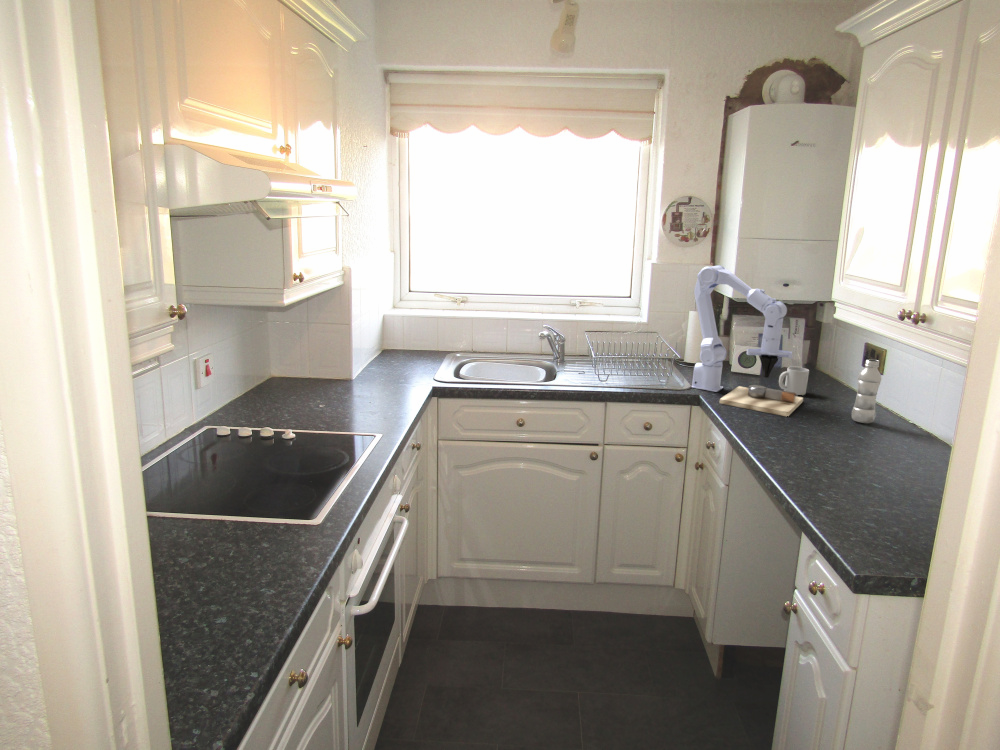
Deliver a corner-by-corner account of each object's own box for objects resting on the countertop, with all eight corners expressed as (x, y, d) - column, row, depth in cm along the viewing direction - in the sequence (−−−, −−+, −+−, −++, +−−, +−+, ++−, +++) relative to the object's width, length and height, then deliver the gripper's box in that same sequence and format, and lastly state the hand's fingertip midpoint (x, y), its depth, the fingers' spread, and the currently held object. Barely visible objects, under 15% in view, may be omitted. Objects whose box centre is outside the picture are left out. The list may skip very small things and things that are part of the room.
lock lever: (745, 396, 234) (747, 387, 233) (749, 392, 239) (751, 384, 238) (792, 404, 226) (793, 395, 225) (795, 400, 231) (797, 391, 230)
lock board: (719, 403, 230) (719, 398, 230) (738, 390, 248) (738, 386, 248) (787, 416, 218) (788, 412, 218) (802, 401, 236) (803, 397, 236)
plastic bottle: (876, 426, 212) (888, 363, 207) (853, 424, 213) (864, 361, 208) (870, 420, 218) (881, 359, 213) (847, 418, 219) (857, 357, 214)
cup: (809, 396, 244) (812, 371, 242) (781, 395, 244) (784, 370, 242) (800, 390, 251) (803, 367, 249) (773, 389, 251) (776, 366, 249)
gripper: (752, 338, 228) (746, 378, 231) (797, 341, 227) (791, 381, 230) (747, 334, 235) (741, 373, 238) (790, 337, 233) (784, 376, 237)
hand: (765, 376), depth 235 cm, fingers closed
